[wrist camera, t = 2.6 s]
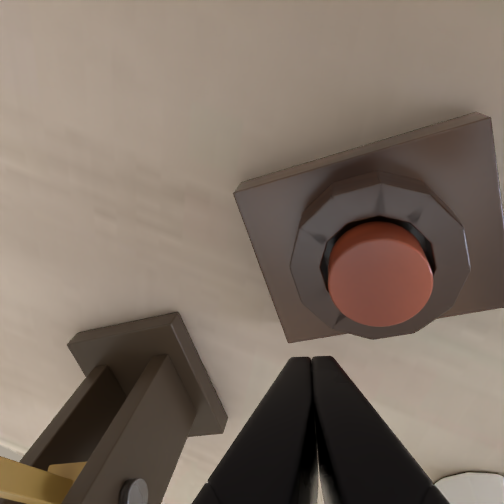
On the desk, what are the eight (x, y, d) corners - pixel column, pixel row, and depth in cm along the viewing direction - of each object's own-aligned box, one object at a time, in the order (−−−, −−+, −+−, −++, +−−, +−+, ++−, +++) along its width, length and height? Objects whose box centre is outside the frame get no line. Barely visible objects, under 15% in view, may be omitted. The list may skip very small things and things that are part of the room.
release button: (414, 209, 15) (423, 227, 13) (432, 293, 16) (441, 318, 15) (318, 233, 16) (316, 252, 15) (341, 310, 17) (341, 334, 16)
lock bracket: (77, 332, 25) (-63, 479, 16) (178, 311, 23) (79, 467, 14) (133, 429, 28) (39, 599, 19) (228, 418, 26) (171, 603, 17)
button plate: (476, 111, 16) (510, 123, 13) (501, 286, 19) (533, 331, 16) (240, 182, 19) (221, 206, 16) (291, 324, 22) (283, 368, 19)
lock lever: (-185, 404, 13) (-247, 489, 12) (-52, 378, 11) (-104, 476, 10) (59, 480, 21) (42, 538, 19) (161, 472, 19) (151, 536, 17)
